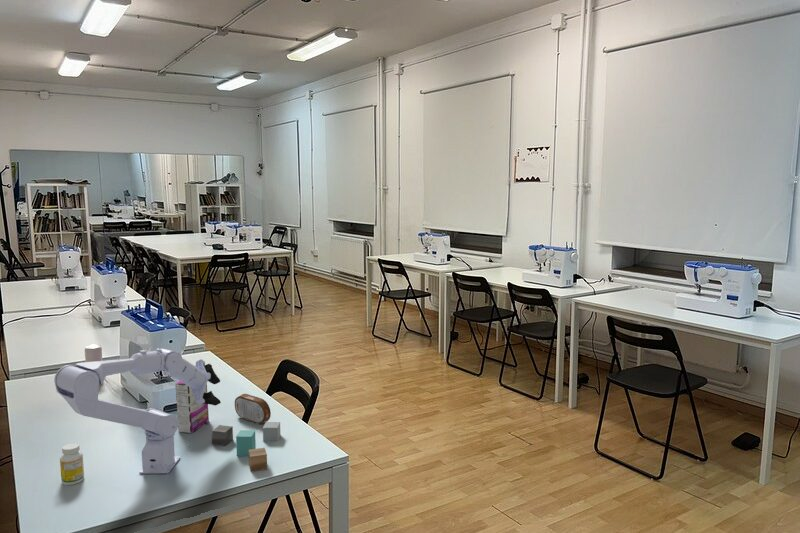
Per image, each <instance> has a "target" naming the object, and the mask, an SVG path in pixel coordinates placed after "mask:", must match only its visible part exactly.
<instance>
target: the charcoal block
mask: <svg viewBox="0 0 800 533" xmlns="http://www.w3.org/2000/svg"><path fill="white" fill-rule="evenodd" d="M233 429H234V427H233V426H232V425H224V424H219V425H218V426H216V427H214V428H213V429H212V430H211V444H213V446H221V447H226V446H227V445H229V444H230V443H231V442H233V441H234V430H233Z"/></svg>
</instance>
